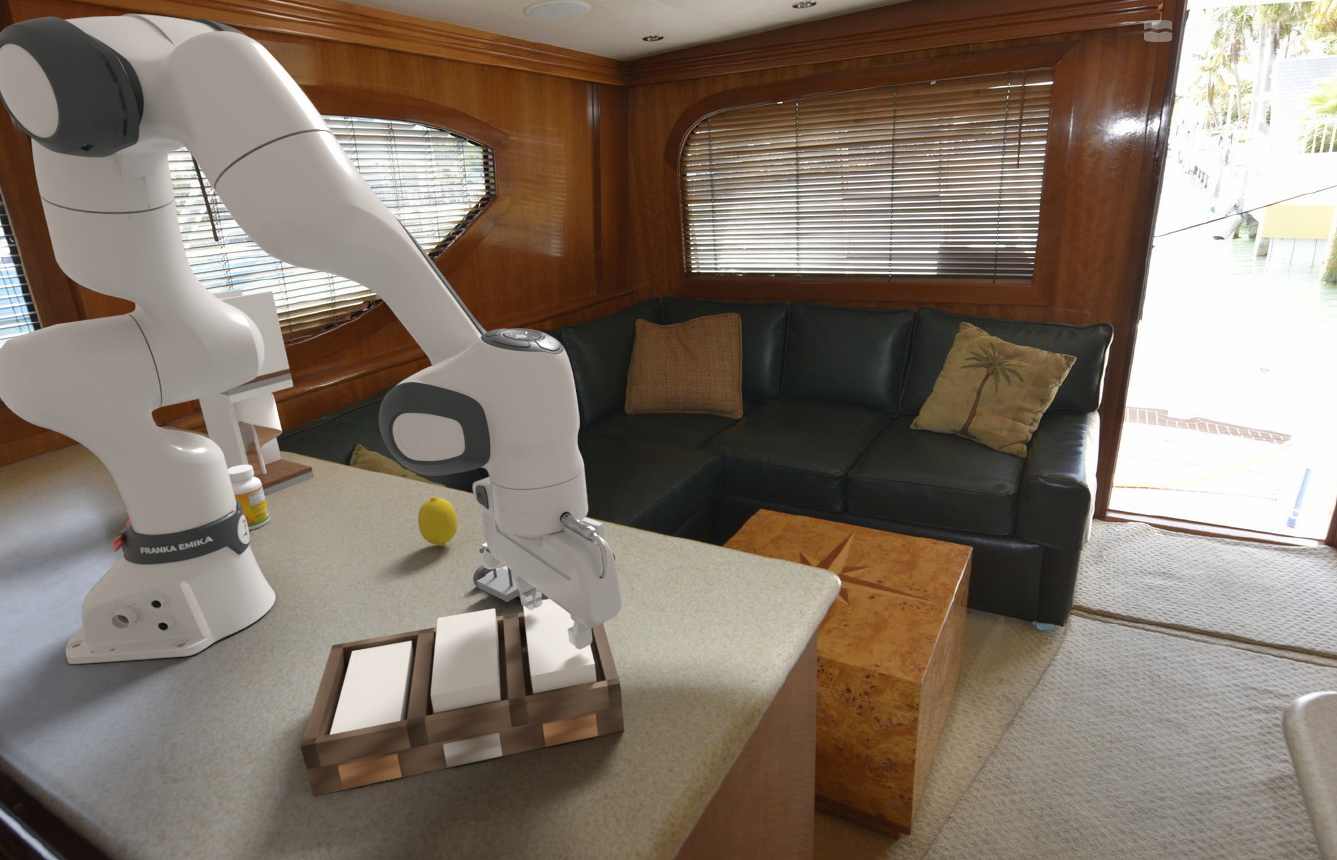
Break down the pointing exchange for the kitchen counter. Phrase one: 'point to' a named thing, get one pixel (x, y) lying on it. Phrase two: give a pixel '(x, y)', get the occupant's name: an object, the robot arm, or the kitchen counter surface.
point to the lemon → (437, 521)
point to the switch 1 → (375, 687)
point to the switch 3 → (555, 650)
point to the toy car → (509, 571)
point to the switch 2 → (466, 661)
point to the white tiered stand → (255, 403)
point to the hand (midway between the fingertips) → (555, 624)
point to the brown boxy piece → (456, 715)
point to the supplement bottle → (249, 495)
